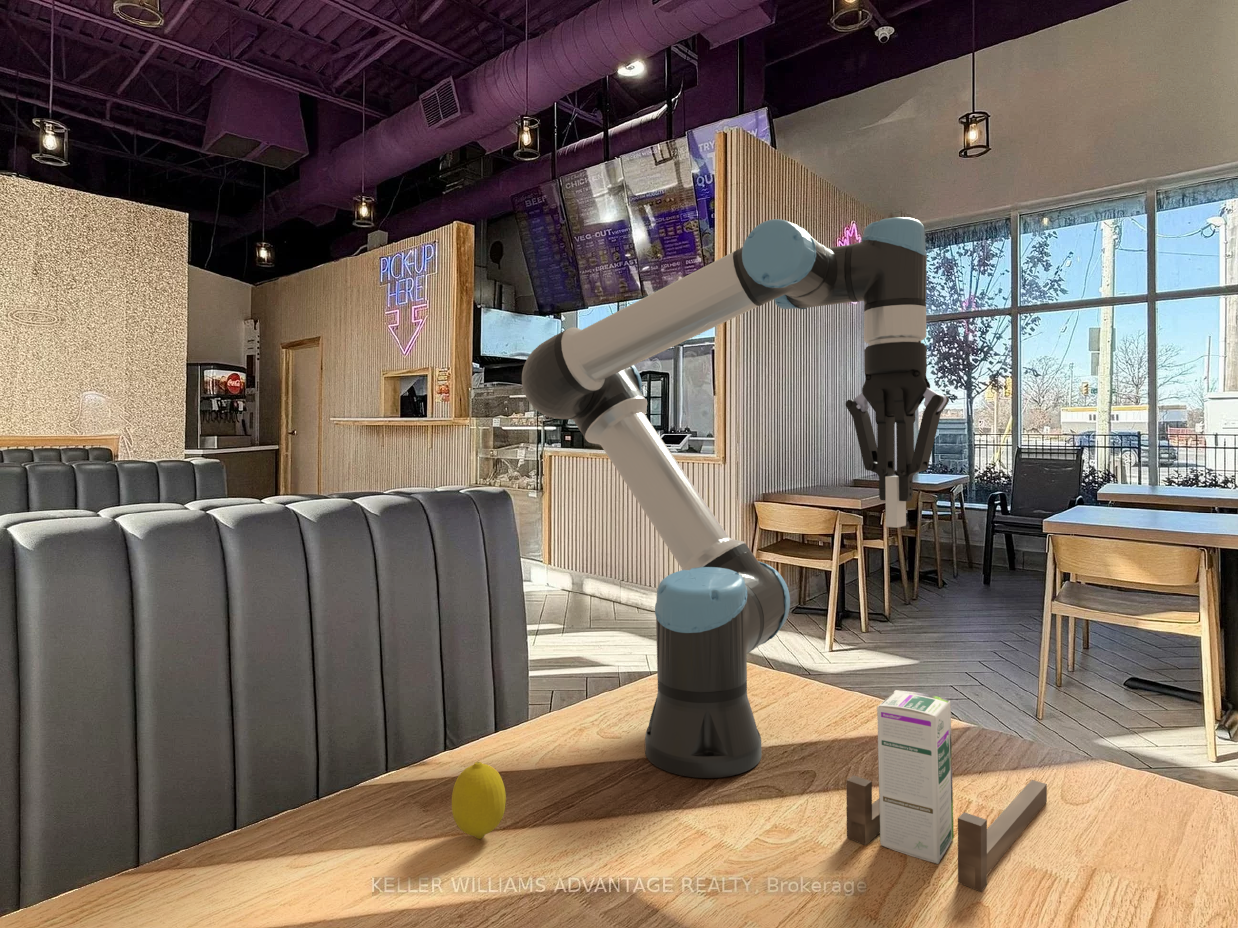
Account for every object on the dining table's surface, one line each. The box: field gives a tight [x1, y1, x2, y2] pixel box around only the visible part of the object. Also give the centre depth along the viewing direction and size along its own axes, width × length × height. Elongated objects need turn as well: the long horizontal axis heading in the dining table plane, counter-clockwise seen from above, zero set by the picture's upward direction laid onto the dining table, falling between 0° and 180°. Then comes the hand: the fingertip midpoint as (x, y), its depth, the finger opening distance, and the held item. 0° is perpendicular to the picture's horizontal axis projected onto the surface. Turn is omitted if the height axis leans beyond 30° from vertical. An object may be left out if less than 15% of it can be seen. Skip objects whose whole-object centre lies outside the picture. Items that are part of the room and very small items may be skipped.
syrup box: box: [876, 689, 955, 865], centre depth 73 cm, size 6×6×14 cm
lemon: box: [451, 761, 507, 840], centre depth 76 cm, size 6×6×8 cm
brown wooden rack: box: [845, 774, 1048, 893], centre depth 78 cm, size 13×22×6 cm, turn 135°
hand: (895, 526), depth 95 cm, fingers closed
